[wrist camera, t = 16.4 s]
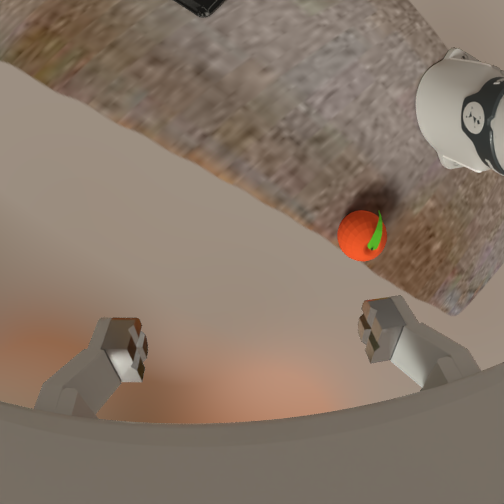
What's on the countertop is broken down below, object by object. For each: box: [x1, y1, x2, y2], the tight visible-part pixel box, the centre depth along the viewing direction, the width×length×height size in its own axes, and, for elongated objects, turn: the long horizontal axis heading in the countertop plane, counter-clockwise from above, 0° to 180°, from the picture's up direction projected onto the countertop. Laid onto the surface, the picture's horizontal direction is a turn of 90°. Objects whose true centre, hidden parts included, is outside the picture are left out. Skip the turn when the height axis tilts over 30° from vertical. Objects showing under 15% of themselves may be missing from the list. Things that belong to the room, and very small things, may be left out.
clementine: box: [338, 210, 387, 261], centre depth 42 cm, size 8×7×7 cm
